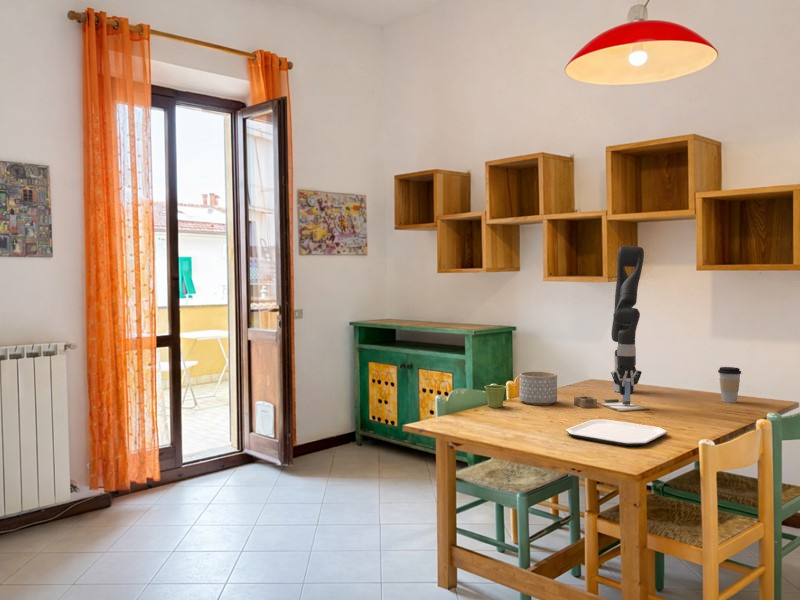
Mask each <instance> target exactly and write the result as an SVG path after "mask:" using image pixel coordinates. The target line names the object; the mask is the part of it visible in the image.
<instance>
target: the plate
mask: <svg viewBox="0 0 800 600" xmlns="http://www.w3.org/2000/svg"><path fill="white" fill-rule="evenodd" d="M565 432H567V433H568V434H569V435H570V436H573V437H575V438H578V439H583V440H588V441H593V442H594V441H595V442H601V443H606V444H610V445H611V444H612V445H616V446H617V445H618V446H624V447H639V446H643V445H646V444H649V443H651V442H652V441H654V440H656V439H659V438H660V437H663V436H665V435H667V434H669V433H668V431H667V430H665V429H664V428H661V427H659V426H653V425H646V424H640V423H639V424H638V423H633V422H628V421H627V422H625V421H620V420H612V419H590V420H586V421H585V422H582V423H579V424H576V425H574V426H571V427H568V428H566V429H565Z"/></svg>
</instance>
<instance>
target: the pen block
mask: <svg viewBox="0 0 800 600" xmlns="http://www.w3.org/2000/svg"><path fill="white" fill-rule="evenodd" d="M597 403H598V399H597V398H596V397H593V396H589V395H588V396H587V395H586V396H574V397H573V405H574V406H576V407H579V408H581V409H582V408H583V409H586V408H597V407H598V404H597Z"/></svg>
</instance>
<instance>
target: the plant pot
mask: <svg viewBox="0 0 800 600" xmlns="http://www.w3.org/2000/svg"><path fill="white" fill-rule="evenodd" d="M506 389H507V385H500V384H499V385H498V384H490V385H489V384H488V385H485V386H484V390H485V393H486V399H487V400H486V401H487V406H488V407H490V408H492V409H493V408H502V407H504V406H503V405H504V398H505V392H506Z"/></svg>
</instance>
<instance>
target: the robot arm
mask: <svg viewBox="0 0 800 600" xmlns="http://www.w3.org/2000/svg"><path fill="white" fill-rule="evenodd" d="M644 256H645V251H644V248H643V247H642V246H641V247H640V246H632V245H622V246H620V247H619V248H618V252H617V264H616V266H617V267H616V269H617V270H616V271H617V272H616V273H617V274H616V284H615V291H614V293H615V294H614V311H613V320H612V326H611V327H612V328H611V339H612V341H613V342H614V343H617V348H616V350H614V371H611V372H610V374H611V376H612V379H613V391H614V392H617V393H619V394H620V395H621V396H623V395H625V387H624V384H625V381H626V378H631V381H630V396H632V395H633V394H634V393H635V389H636V388H635V386H636V385H638V383H639V381H640V379H641V376H642V371H641V370H638V369H637V368H636V364H637V363H636V361H637V360H636V359H637V357H636V355H637V350H636V349H637V348H636V335H637V334H636V332H637V328H638V324H639V320H640V318H641V312H640V311H639V309H637V308H636V307H634V306H635V305H636V304H637V302H638V301H637V299H638V288H639V283H640V278H641V274H642V271H643V265H644V258H645V257H644ZM626 267H629V268H634V269H633V271H632V272H631V273H630V275H628V273H627V271H626ZM622 378H623V379H622Z"/></svg>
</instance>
